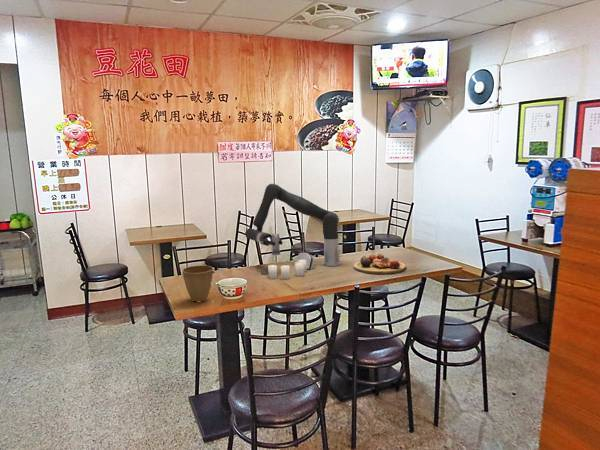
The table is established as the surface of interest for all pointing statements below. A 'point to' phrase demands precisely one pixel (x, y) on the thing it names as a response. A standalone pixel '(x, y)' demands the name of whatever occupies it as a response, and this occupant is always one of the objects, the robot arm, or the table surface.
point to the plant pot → (198, 281)
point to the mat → (264, 272)
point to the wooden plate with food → (378, 265)
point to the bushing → (277, 246)
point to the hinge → (306, 257)
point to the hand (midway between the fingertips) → (277, 243)
